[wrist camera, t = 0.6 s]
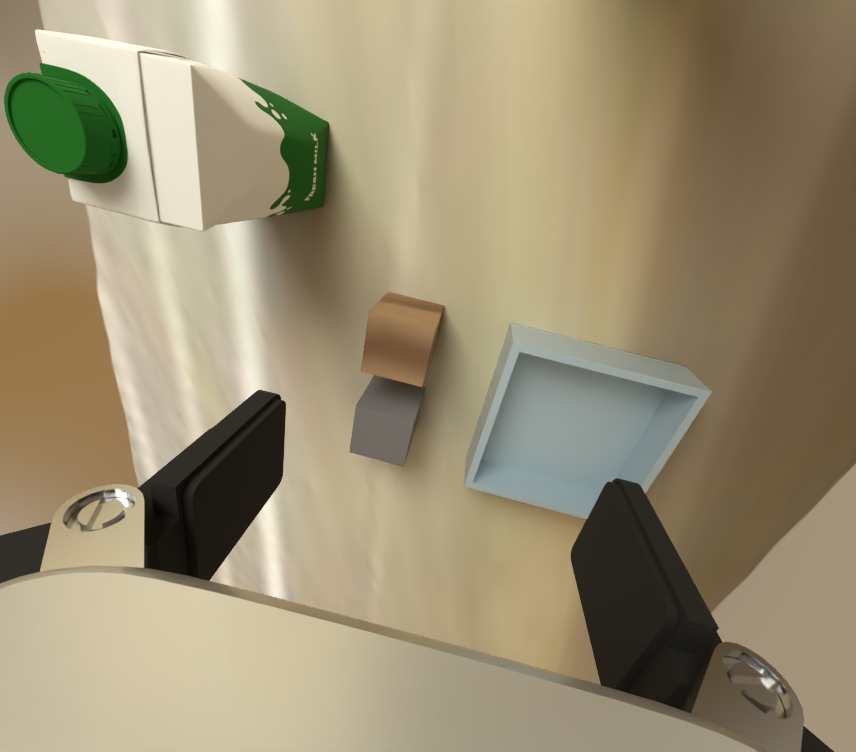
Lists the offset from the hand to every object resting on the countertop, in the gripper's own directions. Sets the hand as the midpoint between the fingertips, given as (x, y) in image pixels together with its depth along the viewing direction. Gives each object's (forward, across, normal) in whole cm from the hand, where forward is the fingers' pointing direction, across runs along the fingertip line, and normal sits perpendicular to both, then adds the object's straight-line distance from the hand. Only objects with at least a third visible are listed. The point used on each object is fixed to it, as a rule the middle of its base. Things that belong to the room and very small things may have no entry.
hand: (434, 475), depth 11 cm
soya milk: (+30, +19, -7) cm, 36 cm away
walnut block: (+30, +5, +6) cm, 31 cm away
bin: (+30, -14, +12) cm, 36 cm away
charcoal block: (+31, +5, +16) cm, 35 cm away
